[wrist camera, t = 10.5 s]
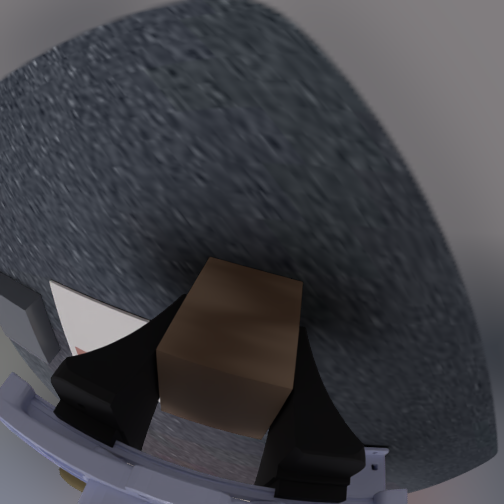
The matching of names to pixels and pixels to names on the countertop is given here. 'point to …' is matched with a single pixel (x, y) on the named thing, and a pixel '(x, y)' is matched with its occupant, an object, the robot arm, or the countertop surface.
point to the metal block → (26, 319)
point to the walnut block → (231, 349)
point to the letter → (91, 320)
